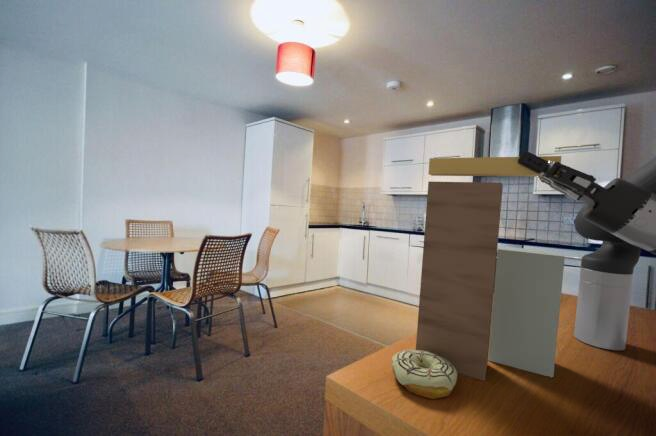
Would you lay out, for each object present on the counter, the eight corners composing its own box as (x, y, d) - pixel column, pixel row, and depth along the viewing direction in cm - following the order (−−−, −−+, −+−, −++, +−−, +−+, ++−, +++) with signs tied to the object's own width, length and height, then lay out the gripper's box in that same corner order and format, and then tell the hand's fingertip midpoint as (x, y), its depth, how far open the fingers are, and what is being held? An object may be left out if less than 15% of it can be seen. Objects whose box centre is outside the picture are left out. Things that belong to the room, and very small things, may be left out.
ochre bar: (431, 175, 63) (432, 160, 63) (557, 176, 53) (559, 158, 53) (428, 174, 60) (429, 158, 60) (559, 174, 50) (561, 156, 50)
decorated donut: (393, 396, 48) (394, 372, 48) (389, 362, 59) (390, 342, 59) (464, 406, 47) (466, 381, 47) (447, 369, 57) (448, 349, 57)
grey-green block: (490, 345, 69) (498, 245, 68) (548, 360, 64) (558, 252, 63) (488, 360, 62) (497, 249, 61) (553, 377, 57) (564, 256, 56)
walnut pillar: (423, 347, 66) (436, 184, 65) (487, 364, 60) (502, 186, 59) (414, 360, 60) (428, 181, 59) (484, 381, 54) (501, 182, 53)
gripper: (635, 195, 52) (532, 145, 59) (673, 190, 40) (538, 128, 47) (601, 232, 54) (506, 180, 61) (627, 237, 42) (505, 172, 49)
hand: (521, 158), depth 54 cm, fingers closed on ochre bar, 3 cm apart
